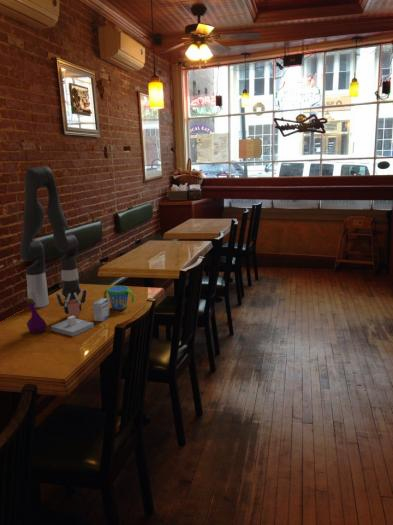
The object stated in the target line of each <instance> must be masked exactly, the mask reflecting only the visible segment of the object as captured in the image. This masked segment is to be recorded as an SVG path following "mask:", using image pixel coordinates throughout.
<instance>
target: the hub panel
mask: <svg viewBox="0 0 393 525" xmlns="http://www.w3.org/2000/svg"><path fill="white" fill-rule="evenodd" d="M76 316H77V315H76ZM76 316H70V317H69V316H68V317H67V319H65V320H62V321H60V322H58V323H55V324H52V325H51V326H50V330H51V332H56V333H59V334H62V335H66V336H68V337H72V338H73V337H75V336H78V335H79V334H82V333H84V332H87V331H90V330H92V329H94V328H95V324H94V322H92V321H87V320H83V319H79V318H77V317H76Z"/></svg>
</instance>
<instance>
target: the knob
mask: <svg viewBox="0 0 393 525" xmlns="http://www.w3.org/2000/svg"><path fill="white" fill-rule="evenodd" d="M67 307H68V314H67V316H68V317H70V316H81V311H80V309H79V302H77V300H76V299H71V300H69V302H68V303H67Z"/></svg>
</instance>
